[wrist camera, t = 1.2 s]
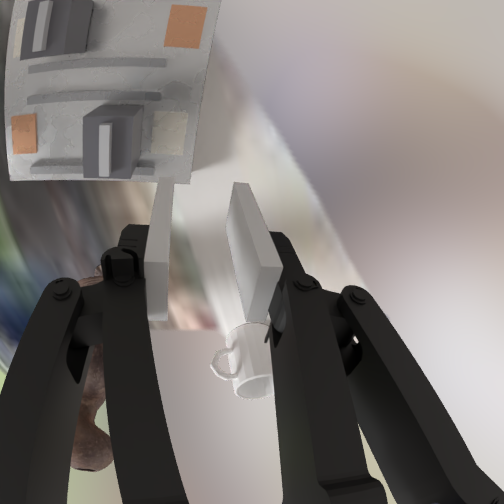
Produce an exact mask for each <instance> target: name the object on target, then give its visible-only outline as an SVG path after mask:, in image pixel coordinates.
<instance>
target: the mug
mask: <svg viewBox="0 0 504 504" xmlns="http://www.w3.org/2000/svg"><path fill="white" fill-rule="evenodd" d="M268 328H269V326H267V325H265V324H261V323H249V324H244V325H241V326H239V327H236V328H235V329H233V330H232V331H231V332H230V333H229V334H228V335H227V338H226V347H227V348H225V349H222V350H219V351H216V353H215V354H214V357H213V359H212V361H211V363H210V367H211V369H212V370H213V371H214V373H215V374H216V376H217V377H219V378H221V379H224V380H226V381H227V380H232V382H233V388H234V392H235V394H236V395H237V396H239V397H240V398H244V399H252V400H253V399H262V398H266V397H269V396H272V395H274V384H273V373H272V362H271V352H270V341H269V339H268V341H267V343H264V340H265V336H266V334H267V331H268ZM224 355H228V359H229V364H230V371H231V374H228V373H226V372H224V371H222V370H221V369H220V367H219V366H218V361H219V359H220V357H221V356H224Z"/></svg>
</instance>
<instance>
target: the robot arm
mask: <svg viewBox="0 0 504 504" xmlns="http://www.w3.org/2000/svg"><path fill="white" fill-rule="evenodd" d="M174 181H175V177H159V181H158V186H157V190H156V195H155V200H154V205H153V210H152V216H151V221H150V225H135V224H129V225H127V226H126V227H125V228H124V229H123V230H122V232H121V236H120V240H119V243H118V247H113V248H111V249H109V250H107V251H106V252H105V253H104V254H103V255H102V257H101V267H102V274H103V281H101V282H99V283H97V284H93V285H89V286H83V287H80V284H79V283H78V282H77V281H76V280H74V279H71V278H59V279H56V280H54V281H52V282H51V283H49V284H48V285H47V287H46V288H45V289H44V291H43V293H42V295H41V297H40V299H39V301H38V303H37V305H36V307H35V309H34V311H33V313H32V315H31V318H30V320H29V322H28V324H27V326H26V329H25V331H24V333H23V335H22V338H21V340H20V342H19V345H18V347H17V350H16V352H15V355H14V357H13V360H12V362H11V365H10V368H9V370H8V373H7V376H6V379H5V382H4V385H3V388H2V391H1V394H0V504H67V492H68V482H69V473H70V465H71V457H72V450H73V443H74V437H75V431H76V425H77V420H78V415H79V410H80V405H81V400H82V395H83V391H84V386H85V382H86V378H87V374H88V369H89V365H90V362H91V358H92V354H93V350H94V347H95V345H97V344H101V343H103V367H104V383H105V396H106V407H107V416H108V425H109V432H110V439H111V446H112V452H113V458H114V464H115V469H116V474H117V479H118V484H119V489H120V493H121V497H122V502H123V504H189V502H188V499H187V497H186V493H185V490H184V487H183V484H182V481H181V477H180V473H179V470H178V466H177V463H176V459H175V456H174V452H173V448H172V444H171V440H170V436H169V432H168V427H167V423H166V419H165V414H164V410H163V405H162V401H161V395H160V390H159V385H158V380H157V374H156V369H155V363H154V357H153V351H152V344H151V338H150V331H149V323H148V320H152V321H167V318H168V275H169V253H170V236H171V220H172V205H173V192H174ZM226 232H227V237H228V242H229V246H230V251H231V256H232V261H233V265H234V270H235V274H236V279H237V284H238V288H239V293H240V297H241V302H242V306H243V311H244V315H245V320H246V322H265V321H266V318H267V315H268V312H269V315H270V318H271V323H270V326H269V328H268V331H267V334H266V336H265V340H264V343H267V341H268V339H269V341H270V352H271V362H272V373H273V384H274V395H275V405H276V417H277V428H278V440H279V451H280V463H281V475H282V487H283V502H282V504H388V502H387V497H386V492H385V489H384V487H383V485H382V484H381V482H380V481H379V480H377V479H375V478H373V477H371V475H370V474H369V472H368V469H367V464H366V459H365V454H364V449H363V445H362V440H361V435H360V431H359V426H360V428H361V430H362V432H363V434H364V436H365V438H366V440H367V443H368V445H369V447H370V449H371V451H372V453H373V455H374V457H375V459H376V461H377V463H378V465H379V468H380V470H381V472H382V474H383V476H384V478H385V480H386V482H387V484H388V487H389V489H390V491H391V493H392V495H393V497H394V499H395V501H396V503H397V504H504V492H503V491H502V490H501V489H500V488H499V487H498V486H497V485H496V484H495V483H494V482H493V481H492V480H491V479H490V478H489V477H488V476H487V475H486V474H485V473H484V472H483V471H482V470H481V469H480V468H479V467H478V466H477V465H476V463H475V461H474V459H473V457H472V455H471V453H470V451H469V450H468V448H467V446H466V444H465V442H464V440H463V438H462V437H461V435H460V433H459V431H458V429H457V428H456V426H455V424H454V422H453V421H452V419H451V417H450V415H449V414H448V412H447V410H446V409H445V407H444V405H443V404H442V402H441V400H440V399H439V397H438V395H437V394H436V392H435V390H434V389H433V387H432V385H431V384H430V382H429V381H428V379H427V377H426V376H425V375H424V373H423V371H422V369H421V368H420V366H419V365H418V363H417V362H416V360H415V359H414V357H413V356H412V354H411V352H410V351H409V349H408V348H407V346H406V345H405V343H404V342H403V341H402V339H401V337H400V336H399V334H398V333H397V331H396V330H395V329H394V327H393V326H392V324H391V323H390V321H389V320H388V318H387V317H386V315H385V314H384V313H383V311H382V310H381V308H380V307H379V306H378V304H377V303H376V301H375V300H374V298H373V297H372V296H371V295H370V294H369V293H368V292H367V291H366V290H364V289H363V288H361V287H358V286H353V285H349V286H346V287H344V289H343V290H342V292H341V294H339V293H335V292H331V291H327V290H324V289H322V287H321V285H320V283H319V282H318V281H317V280H316V279H315V278H314V277H312V276H310V275H308V274H306V273H305V271H304V269H303V267H302V265H301V263H300V261H299V259H298V257H297V254H296V252H295V250H294V248H293V246H292V244H291V242H290V240H289V239H288V238H287V237H286V236H285V235H284V234H283V233H282V232H270V231H268V228H267V226H266V224H265V221H264V219H263V216H262V214H261V212H260V209H259V207H258V204H257V202H256V200H255V197H254V195H253V193H252V190H251V188H250V186H249V184H248V183H238V182H234V184H233V190H232V195H231V201H230V206H229V212H228V217H227V223H226ZM354 336H356V338H357V339H358V341H359V342H358V344H357V343H356V342H355V341H354V339H353V338H354ZM358 424H359V426H358Z"/></svg>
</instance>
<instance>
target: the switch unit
mask: <svg viewBox="0 0 504 504" xmlns="http://www.w3.org/2000/svg"><path fill="white" fill-rule="evenodd" d="M28 1H32V0H15V3H14V8H13V13H12V18H11V24H10V31H9V38H8V47H7V56H6V70H5V101H4V102H5V134H6V148H7V158H8V167H9V175H10V181H23V180H108V181H137V182H158V181H159V177H175V181H174V183H176V184H190V179H191V171H192V163H193V155H194V147H195V140H196V133H197V126H198V119H199V113H200V106H201V100H202V94H203V88H204V82H205V77H206V71H207V66H208V61H209V55H210V50H211V45H212V40H213V35H214V31H215V26H216V21H217V17H218V13H219V8H220V3H221V0H92V1H94V2H93V7H92V12H91V17H90V23H89V29H88V35H87V42H86V49H85V53H75V54H65V55H57V56H49V57H41V58H34V59H27V60H21V61H20V53H21V44H22V36H23V29H24V23H25V17H26V11H27V6H28ZM100 105H141V106H144V109H143V119H142V131H141V146H140V159H139V161H138V163H137V165H136V168H135V170H134V172H133V175H132V177H131V179H111V178H83V116H85V115H86V114H88V113H89V112H91V111H92V110H94V109H96V108H97V107H99V106H100Z"/></svg>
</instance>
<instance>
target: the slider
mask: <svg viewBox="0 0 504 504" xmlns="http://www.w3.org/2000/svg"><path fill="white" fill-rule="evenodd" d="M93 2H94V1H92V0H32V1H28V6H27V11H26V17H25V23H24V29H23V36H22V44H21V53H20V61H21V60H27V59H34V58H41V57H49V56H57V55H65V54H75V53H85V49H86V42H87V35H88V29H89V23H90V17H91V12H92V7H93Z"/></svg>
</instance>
